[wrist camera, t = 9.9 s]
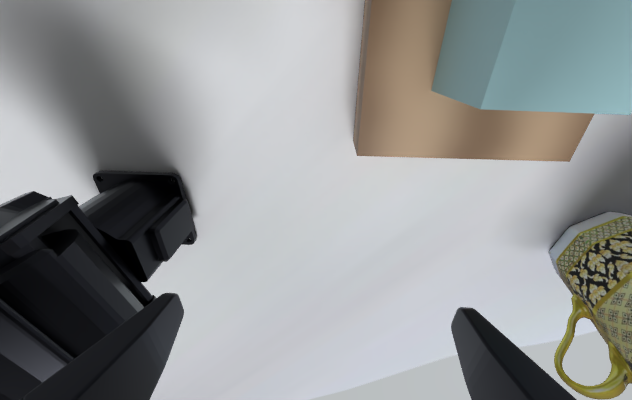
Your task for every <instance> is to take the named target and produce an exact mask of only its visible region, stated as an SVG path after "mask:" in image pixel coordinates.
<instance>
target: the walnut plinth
mask: <svg viewBox="0 0 632 400" xmlns="http://www.w3.org/2000/svg"><path fill="white" fill-rule="evenodd" d="M451 2H452V0H365V6H364V18H363V30H362V42H361V54H360V65H359V77H358V89H357V101H356V113H355V125H354V137H353V142H354V146H355V149H356V153H357V156H384V157H421V158H458V159H494V160H531V161H568V162H569V161H570V159H571V158H572V156H573V154H574V152H575V150H576V148H577V146H578V144H579V142H580V140H581V138H582V137H583V135H584V133H585V131H586V129H587V127H588V125H589V123H590V121H591V119H592V117H593V115H594V114H592V113H565V112H538V111H511V110H484V109H478V108H475V107H473V106H470V105H467V104H465V103H462V102H459V101H457V100H454V99H451V98H449V97H446V96H443V95H441V94H438V93H436V92H433V91H431V90H432V85H433V81H434V77H435V72H436V68H437V63H438V59H439V55H440V50H441V46H442V42H443V37H444V33H445V28H446V24H447V20H448V15H449V11H450V7H451Z"/></svg>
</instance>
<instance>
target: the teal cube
mask: <svg viewBox="0 0 632 400" xmlns="http://www.w3.org/2000/svg"><path fill="white" fill-rule="evenodd" d="M431 91H433V92H436V93H438V94H441V95H443V96H446V97H449V98H451V99H454V100H457V101H459V102H462V103H465V104H467V105H470V106H473V107H475V108H478V109H484V110H511V111H538V112H565V113H592V114H619V115H630V114H631V113H632V0H452V2H451V7H450V11H449V15H448V20H447V24H446V28H445V33H444V37H443V42H442V46H441V50H440V55H439V59H438V63H437V68H436V72H435V77H434V81H433V85H432V90H431Z"/></svg>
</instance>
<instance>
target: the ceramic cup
mask: <svg viewBox="0 0 632 400" xmlns="http://www.w3.org/2000/svg"><path fill="white" fill-rule="evenodd" d="M549 254H550V257H551V260H552V263H553V266H554V268H555V270H556V272H557V274H558V275H559V276H560V278H561V279H562V280H563V282H564V283H565V285H566V286H567V287H568V289H569V290H570V292H571V293H572V295H573V297H572V298H571V299H572V305H573V311H572V313H571V315H570V317H569V319H568V324H567V330H566V333H565V335H564V338H563V339H562V341H561V343H560V345H559V346H558V348H557V350H556V353H555V358H554V363H555V368H556V371H557V373H558V375H559V376H560V377H561V379H562V380H563V381H564V382H565V383H566V384H567V385H568V386H570V387H571V388H572V389H574V390H575V391H576V392H578V393H580V394H582V395H584V396H586V397H589V398H594V399H611V398H614V397H617V396H619V395H620V394H621V393H622V392H623V391H624V390H625V388H626V386H627V385H628V384H629V383H632V215H627V214H622V213H617V212H606V213H603V214H600V215H598V216H595V217H593V218H590V219H588V220H585V221H583V222H580V223H578V224H575V225H573V226H570V227H569V228H568V229H567V230H566V231H565V233H564V234H563V235H562V236H561V238H560V239H559V240H558V241H557V242H556V244H555V245H554V246H553V247H552V249H551V250H550V251H549ZM583 317H585V318H587V319H590V320H591V321H592V323H593V324H594V325H595V327H596V328H597V330H598V332H599V333H600V335H601V336H602V337H603V339H604V340H605V342H606V343H607V344H608V347H609V357H610V361H611V364H612V368H611V372H610V375H609V376H608V378H607V379H606V381H604V382H603V383H601V384H599V385H595V386H584V385H580V384H578V383H576V382H574V381H572V380H571V379H570V378H569V377H568V376H567V375H566V374H565V373H564V370H563V368H562V361H563V357H564V355H565V353H566V351H567V349H568V348H569V346H570V344H571V342H572V339H573V337H574V333H575V326H576V323H577V321H578V320H579V319H580V318H583Z"/></svg>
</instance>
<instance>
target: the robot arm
mask: <svg viewBox="0 0 632 400" xmlns="http://www.w3.org/2000/svg"><path fill="white" fill-rule="evenodd" d="M101 177H102V178H103V179H102V178H101ZM171 178H172V179H173V180H174V181H175V182H173V181H172V180H171ZM93 179H94V181H95V183H96V186H97V188H98V190H99V192H100V194H99V195H97V196H95V197H94V198H92V199H90V200H89V201H87V202H85V203H84V204H82V205H81V206H79V207H78V204H79V203H78V202H77V201H76V200H75V198H74V197H73V196H72V195H70V196H67V197H63V198H59V199H52V198H51V197H46V196H44V195H42V194H39V193H37V192H34V191H33V192H29V193H25V194H23V195H21V196H19V197H17V198H14V199H12V200H10V201H8V202H6V203H4V204H1V205H0V400H150V397H151V395H152V393H153V391H154V389H155V387H156V385H157V383H158V380H159V378H160V376H161V374H162V372H163V370H164V367H165V365H166V362H167V360H168V357H169V355H170V352H171V349H172V346H173V344H174V341H175V338H176V335H177V332H178V330H179V327H180V324H181V321H182V319H183V315H184V309H183V306H182V304H181V301H180V298H179V296H178V295H177V294H175V293H164V294H162V295H161V296H159V297H158V298H156V297H155V296H154V295H151V294H150V293H149V291H148V290H147V289H146V288H145V286H144V285H143V284H142V283H141V282H147V281H148V279H149V278H150V277H151V276H152V274H153V273H154V272H155V271H156V269H157V268H158V267H159V266H160V264H161V263H162V262H163V261H166V262H167V261H168V260H169V259H170V258H171V257H172V256H173V254H174V253H175V252H176V250H177V249H178V248H179V247H180V245H181V244H185V245H191V244H194V242H195V241H196V234H195V230H194V227H195V226H194V222H193V218H192V215H191V211H190V207H189V203H188V201H187V200H186V197H185V193H184V189H183V186H182V182H181V179H180V177H179V176H178V175H177V174H175V173H154V172H121V171H99V172H97V173H95V174H94V175H93ZM189 238H190V239H189ZM451 329H452V334H453V338H454V341H455V345H456V349H457V353H458V356H459V360H460V364H461V368H462V371H463V375H464V379H465V382H466V385H467V388H468V391H469V394H470V396H471V399H472V400H576V399H575V398H574V397H573V396H572V395H571V394H570V393H568V392H567V391H566V390H565V389H564V388H563V387H562V386H560V385H559V384H558V383H557V382H556V381H555V380H554V379H553V378H551V377H550V376H549V375H548V374H547V373H546V372H545V371H544V370H543V369H541V368H540V367H539V366H538V365H537V364H536V363H535V362H533V361H532V360H531V359H530V358H529V357H528V356H527V355H525V353H523V352H522V351H521V350H520V349H519V348H518V347H517V346H516V345H514V344H513V343H512V342H511V341H510V340H509V339H508V338H507V337H505V336H504V335H503V334H502V333H501V332H500V331H499V330H498V329H496V328H495V327H494V326H493V325H492V324H491V323H490V322H489V321H487V320H486V319H485V318H484V317H483V316H482V315H481V314H480V313H478V312H477V311H476V310H475V309H473V308H466V307H460V308H458V310H457V312H456V314H455V316H454V319H453V321H452V324H451Z"/></svg>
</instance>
